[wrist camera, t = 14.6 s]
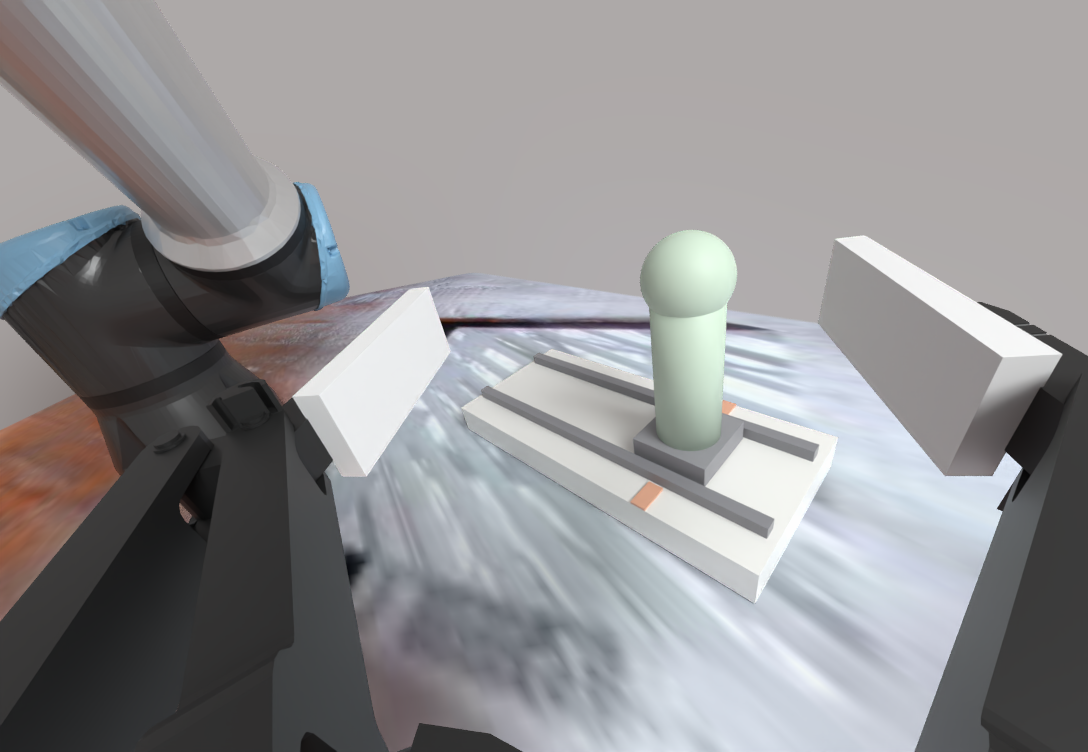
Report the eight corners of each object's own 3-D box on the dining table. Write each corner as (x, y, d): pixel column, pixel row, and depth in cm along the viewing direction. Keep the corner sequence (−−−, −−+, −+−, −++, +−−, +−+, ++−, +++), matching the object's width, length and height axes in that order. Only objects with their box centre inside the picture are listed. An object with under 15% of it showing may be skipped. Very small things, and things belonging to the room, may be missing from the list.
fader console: (468, 428, 39) (458, 400, 37) (555, 368, 45) (550, 342, 44) (754, 604, 21) (760, 565, 20) (831, 465, 28) (840, 427, 26)
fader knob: (634, 455, 28) (614, 245, 21) (674, 414, 31) (669, 217, 24) (704, 487, 25) (709, 251, 17) (742, 439, 28) (761, 217, 20)
